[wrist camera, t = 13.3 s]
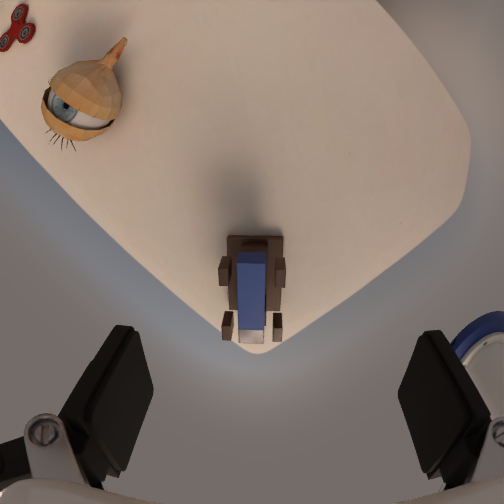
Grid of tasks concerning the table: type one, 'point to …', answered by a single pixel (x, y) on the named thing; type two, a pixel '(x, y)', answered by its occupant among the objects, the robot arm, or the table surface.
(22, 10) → the fidget spinner
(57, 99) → the sculpture
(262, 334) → the blue eraser block
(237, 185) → the table surface
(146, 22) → the table surface
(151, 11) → the table surface
